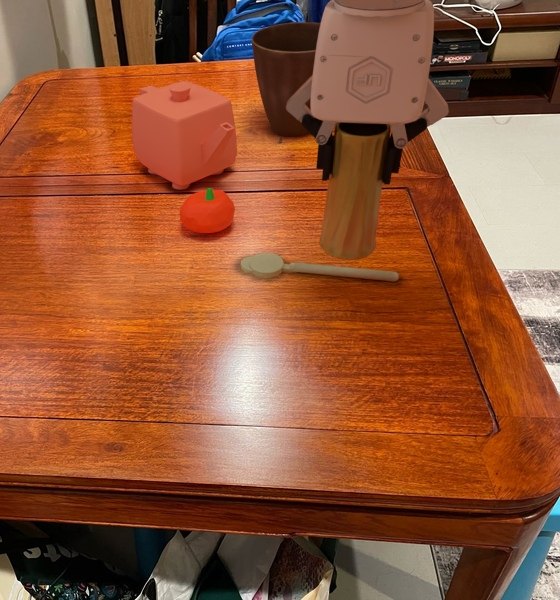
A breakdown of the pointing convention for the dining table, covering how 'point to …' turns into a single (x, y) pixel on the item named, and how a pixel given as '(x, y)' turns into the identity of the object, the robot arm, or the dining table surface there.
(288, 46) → the flower pot
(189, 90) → the teapot
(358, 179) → the vase
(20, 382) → the dining table surface
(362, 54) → the robot arm
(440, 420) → the dining table surface
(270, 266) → the spoon
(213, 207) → the pumpkin
